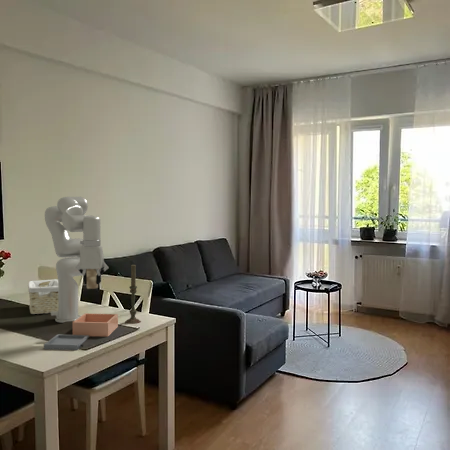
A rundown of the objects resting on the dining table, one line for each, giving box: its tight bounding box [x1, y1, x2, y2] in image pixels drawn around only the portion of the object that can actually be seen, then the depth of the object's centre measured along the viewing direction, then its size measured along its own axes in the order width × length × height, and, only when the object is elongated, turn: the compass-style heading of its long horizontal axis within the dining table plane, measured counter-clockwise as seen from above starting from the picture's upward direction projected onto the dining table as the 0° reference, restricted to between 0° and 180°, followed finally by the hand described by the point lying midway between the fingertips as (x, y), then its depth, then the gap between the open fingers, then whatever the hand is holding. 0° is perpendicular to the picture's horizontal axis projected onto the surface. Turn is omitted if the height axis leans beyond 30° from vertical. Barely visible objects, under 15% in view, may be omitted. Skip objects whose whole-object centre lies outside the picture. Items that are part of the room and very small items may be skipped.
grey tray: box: [43, 333, 90, 351], centre depth 201 cm, size 14×14×2 cm
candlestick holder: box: [124, 264, 142, 325], centre depth 233 cm, size 9×9×30 cm
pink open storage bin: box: [72, 312, 119, 337], centre depth 217 cm, size 16×16×7 cm
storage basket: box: [27, 278, 58, 315], centre depth 261 cm, size 24×16×15 cm
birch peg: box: [86, 269, 99, 290], centre depth 213 cm, size 5×5×10 cm
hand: (92, 283), depth 213 cm, fingers closed on birch peg, 5 cm apart
